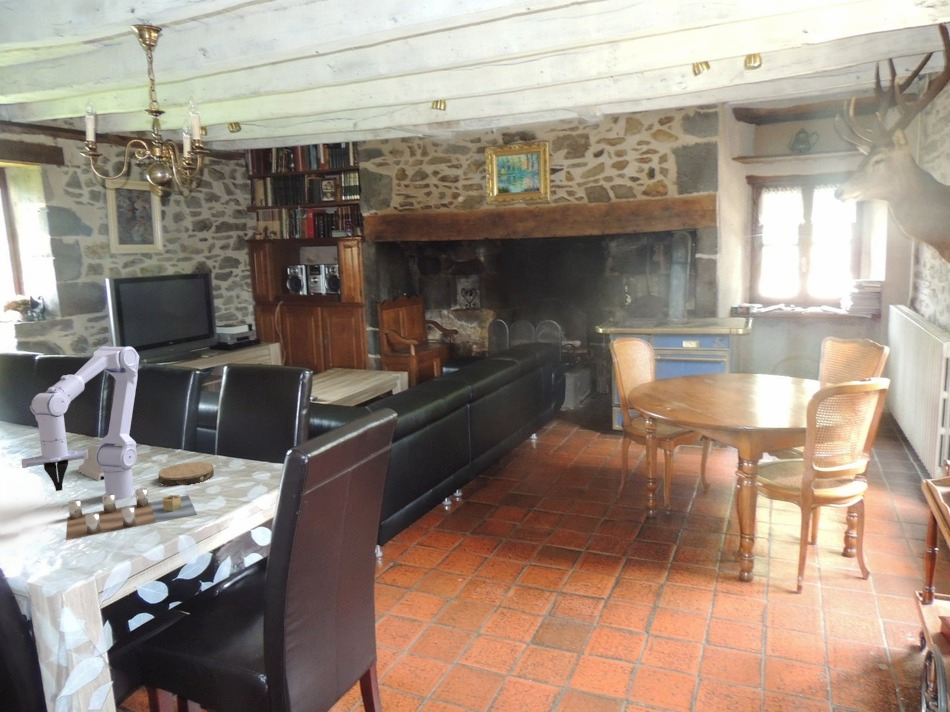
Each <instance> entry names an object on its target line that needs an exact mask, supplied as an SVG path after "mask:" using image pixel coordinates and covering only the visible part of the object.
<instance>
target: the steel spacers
mask: <svg viewBox="0 0 950 712" xmlns="http://www.w3.org/2000/svg"><path fill="white" fill-rule="evenodd" d="M134 495H135V502H136V503H135V505H136V504H137V507H146V506H148V505H149V502H150V501H149V491H148V488H147V487H142V488H141V487H140V488H137V489H135V493H134ZM67 506H68V507H67V508H68V515H69V516H68V517H70V519H71V520H75V519H79V518H82V517H83V514H84V513H83V508H82V500H81V499H78V498H76V499H71V500H69V501H67ZM102 506H103V510H104V513H113V512H115V511H116V508H117V500H115V494H106V495H105V494H104V495H102ZM127 506H128V507H125V506H123V507H124V508H122V509H121V511H122V521H123V527H132V526H135V525H136V518H135V508H134V507H133V506H130V505H127ZM89 513H90V514H87V515H86V516H85V518H86V527H87V534H96V533H99V532H100V531H101V528H100V518H99V513H91V512H89ZM132 528H133V527H132ZM96 535H97V534H96Z"/></svg>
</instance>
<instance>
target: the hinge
mask: <svg viewBox="0 0 950 712" xmlns="http://www.w3.org/2000/svg"><path fill="white" fill-rule="evenodd" d="M99 445H100V444H98V445H91V446H90V447H88V449H87V451H88V459H83V463H82V464H80V465H79V466H78V468H77V469H78V470H77V472H78V473H80V472H81V474H82V473H83V475H84V474H85V475H84V476H86V477H89V478H91V479H94V480H96V481H98V482H99V481H101V478H102V477H104V470H101V466H99V465H98V464H97V463H96V460H95V455H96V451H97V450H98V448H99Z"/></svg>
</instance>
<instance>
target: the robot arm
mask: <svg viewBox="0 0 950 712" xmlns="http://www.w3.org/2000/svg"><path fill="white" fill-rule="evenodd" d="M139 362H140V355H139V354H138V352H137V350H136V349H135V348H134V347H133V346H106V345H104V346H103V345H102V346H100V347H99V348H98V349H97V350H95V351H94V352H93V354H92V357H91V358H90V359H89V360H88V361H87V362H86V363H85V364H83V366H82V367H81V368H80V369H78V370H77V372H76V373H74V374H67V375H65V374H63V375H62V376H61V377H60V380H59V381H57V382H56V383H55V384H53V385H52V386H49V387H48V388H47V391H45V392H40V393H38V394H36V395H35V396H34V397H33V398H32V400H31V405H30V406H29V409H30V412H32V414H33V415H34V416H35V421H36V422H37V427H38V433H39V434H38V435H39V441H40V448H41V449H40V450H41V455H38V456H34V457H27V458H22V460H21V467H22V469H27V468H29V467H39V466H43V469H44V472H46V474H47V475H48V477H49V478H50V480H51V481H52V483H53V486H54V490H55V491H56V492H58V491H59V492H60V491H63V481H64V479H65V474H66V473H67V469H68V466H69V462H71V461H78V460H85V459H88V449H85V450H76V451H68V449H69V448H68V442H67V435H66V434H67V433H66V426H65V417H64V416H65V415H64V414H65V413H66V412H67V411H68V408H69V405H70V404H71V402H72V401H73V400H75V398H76V397H78V396H79V395H81V394H82V392H84V390H85V385H86V384H87V383H88V382H89V381H90V380H92V379H93V378H95V377H96V376H97V375H98V374H100V373H101V372H102V371H105V372H107V374H109V375H111V376H112V377H113V378H114V380H115V386H114V393H113V400H112V406H111V413H110V419H109V427H108V431H107V435H105V436H104V437H103V438H101V439H100V441H99V444H98V445H99V448H98V450H97V451H96V455H95V460H96V463H97V464H98V465H99V466H101V470H104V476H103V478H104V490H105V493H104V495H106V494H115V501H118V500H124V499H127V498H130V497H132V496H134V495H135V490H136V489H135V488H134V478H133V468H134V466H135V464H136V462H137V458H138V454H137V453H138V451H137V442H136V441H135V439H133V438H132V437H131V436H130V431H131V425H132V420H133V419H132V418H133V412H134V411H133V410H134V404H135V397H136V389H137V383H138V371H139V370H138V369H139V364H140V363H139Z"/></svg>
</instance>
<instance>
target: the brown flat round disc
mask: <svg viewBox="0 0 950 712" xmlns="http://www.w3.org/2000/svg"><path fill="white" fill-rule="evenodd" d="M214 470H215V469H214V465H213V464H212V463H208V462H201V461H198V462H197V461H196V462H185V463H179V464H174V465H172V466H168V467H167V466H166V467H165V468H163V469H161V470H160V471H159V473H158V482H159V484H160V483H161V484H163V485H162V486H164V485H167V486H166V487H177V486H184V485H187V486H192V485H191V484H193V485H197V484H196V483H198V484H200V482H201V483H205V482H206V480H207V481H208V479H209V480H211V479H212V478H213V477H214V474H215V472H214ZM210 478H211V479H210ZM161 484H160V485H161Z"/></svg>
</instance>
